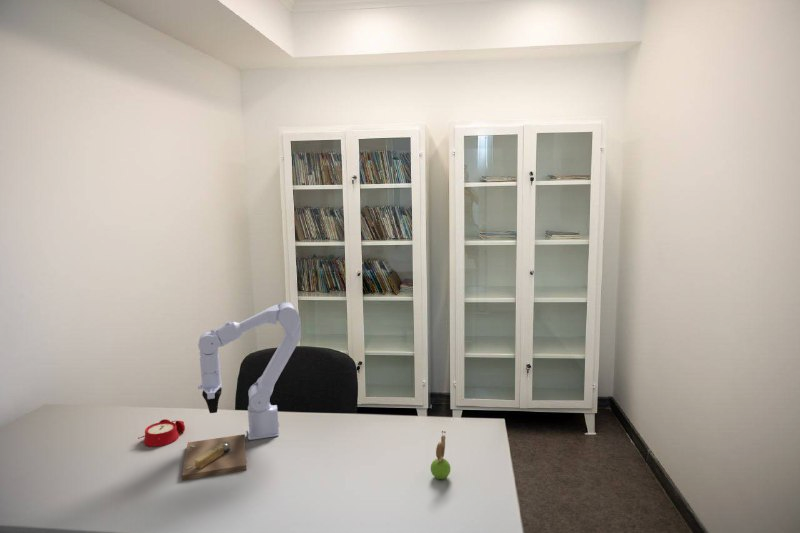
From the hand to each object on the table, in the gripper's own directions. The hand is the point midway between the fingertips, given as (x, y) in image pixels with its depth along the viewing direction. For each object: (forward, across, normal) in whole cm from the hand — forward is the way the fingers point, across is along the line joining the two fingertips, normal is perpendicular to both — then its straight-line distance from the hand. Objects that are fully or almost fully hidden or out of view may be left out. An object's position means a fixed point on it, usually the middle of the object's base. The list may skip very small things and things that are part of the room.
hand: (213, 412), depth 168 cm
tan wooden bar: (+8, +15, 0) cm, 17 cm away
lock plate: (+9, +12, 0) cm, 15 cm away
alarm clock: (+10, -8, -16) cm, 20 cm away
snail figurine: (+10, +43, +60) cm, 74 cm away
